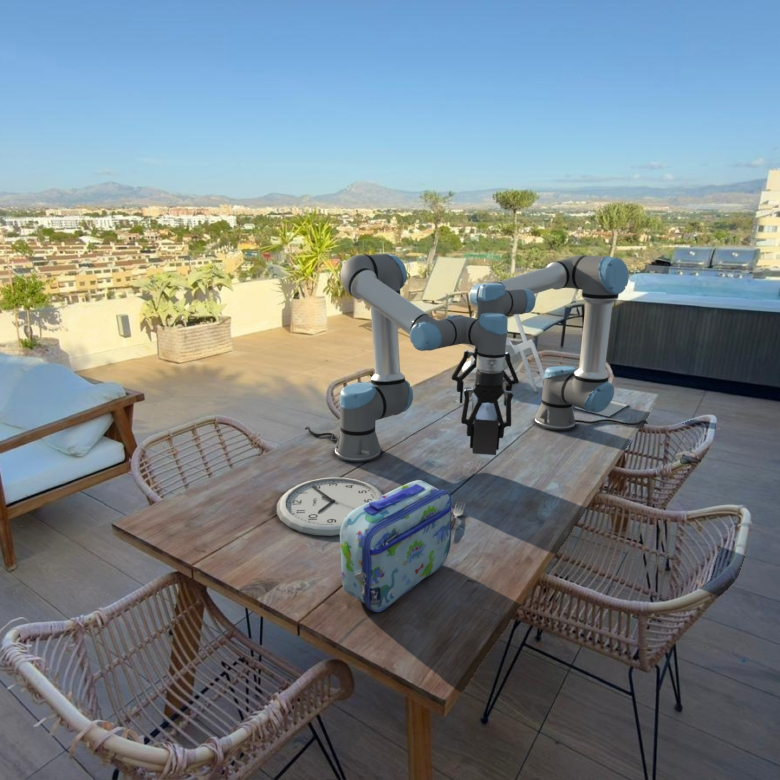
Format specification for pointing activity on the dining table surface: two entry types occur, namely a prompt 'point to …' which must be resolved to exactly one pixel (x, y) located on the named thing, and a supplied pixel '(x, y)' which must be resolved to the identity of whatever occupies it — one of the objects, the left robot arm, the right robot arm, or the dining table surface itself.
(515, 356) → the white plastic object
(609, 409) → the invitation card
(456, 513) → the fork
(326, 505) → the wall clock
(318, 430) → the dining table surface
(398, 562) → the lunch box
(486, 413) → the box
